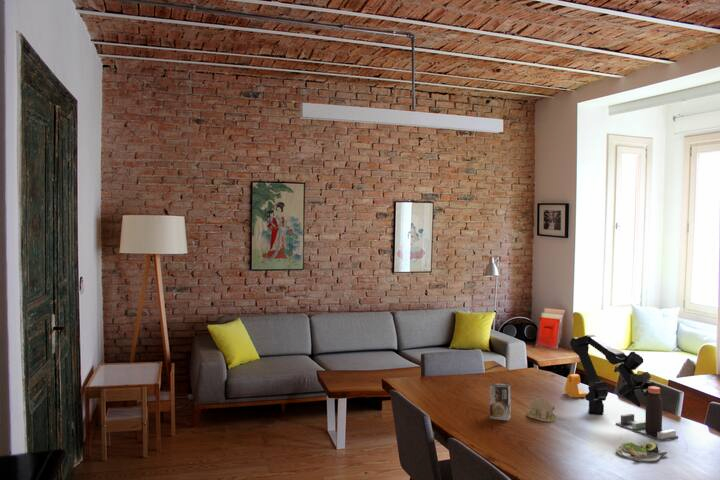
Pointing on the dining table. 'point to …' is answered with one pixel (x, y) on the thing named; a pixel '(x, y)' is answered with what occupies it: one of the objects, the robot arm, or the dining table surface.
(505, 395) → the coffee box
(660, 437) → the vise
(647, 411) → the vinegar
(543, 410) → the ceramic model
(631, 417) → the sliding jaw
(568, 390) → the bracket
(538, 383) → the dining table surface
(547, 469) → the dining table surface
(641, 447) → the salad plate
